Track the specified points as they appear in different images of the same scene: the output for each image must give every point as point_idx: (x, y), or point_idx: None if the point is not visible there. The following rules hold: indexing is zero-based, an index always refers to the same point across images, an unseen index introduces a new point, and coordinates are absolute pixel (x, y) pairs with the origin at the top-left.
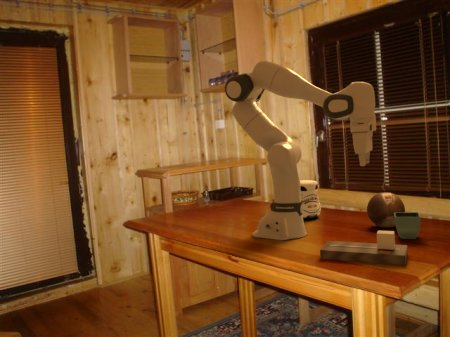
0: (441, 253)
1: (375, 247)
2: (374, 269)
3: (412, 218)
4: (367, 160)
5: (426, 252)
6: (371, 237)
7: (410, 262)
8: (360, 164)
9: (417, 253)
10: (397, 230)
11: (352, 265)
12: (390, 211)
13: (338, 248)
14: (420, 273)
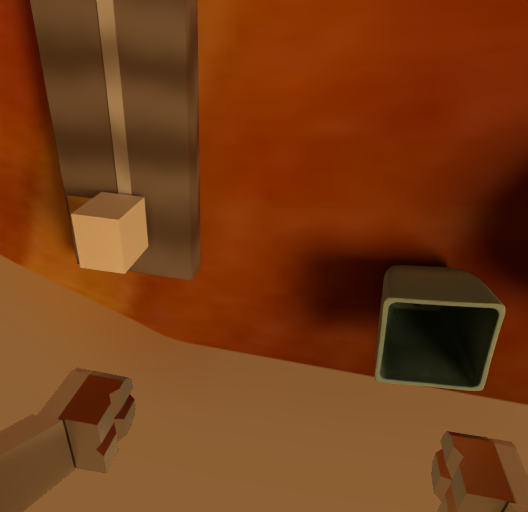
0: (230, 343)
1: (128, 184)
2: (22, 169)
3: (377, 353)
4: (441, 507)
5: (232, 312)
6: (427, 155)
7: None
8: (67, 383)
9: (216, 290)
10: (386, 272)
11: (27, 100)
12: None
13: (74, 39)
14: (45, 274)
